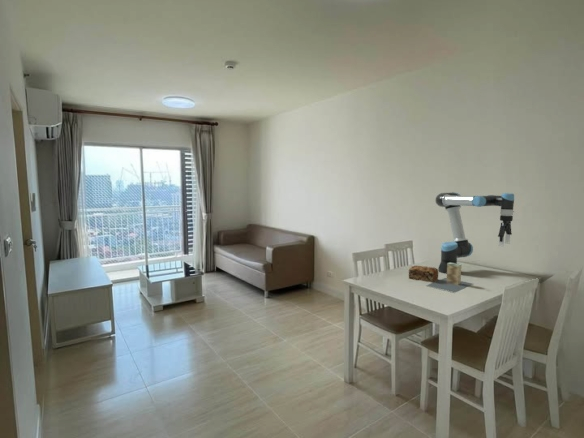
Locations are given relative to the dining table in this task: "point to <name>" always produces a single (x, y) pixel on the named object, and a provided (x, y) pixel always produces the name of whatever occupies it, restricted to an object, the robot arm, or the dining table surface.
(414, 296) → the dining table surface
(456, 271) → the slab
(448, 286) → the mat
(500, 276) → the dining table surface
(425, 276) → the bread
